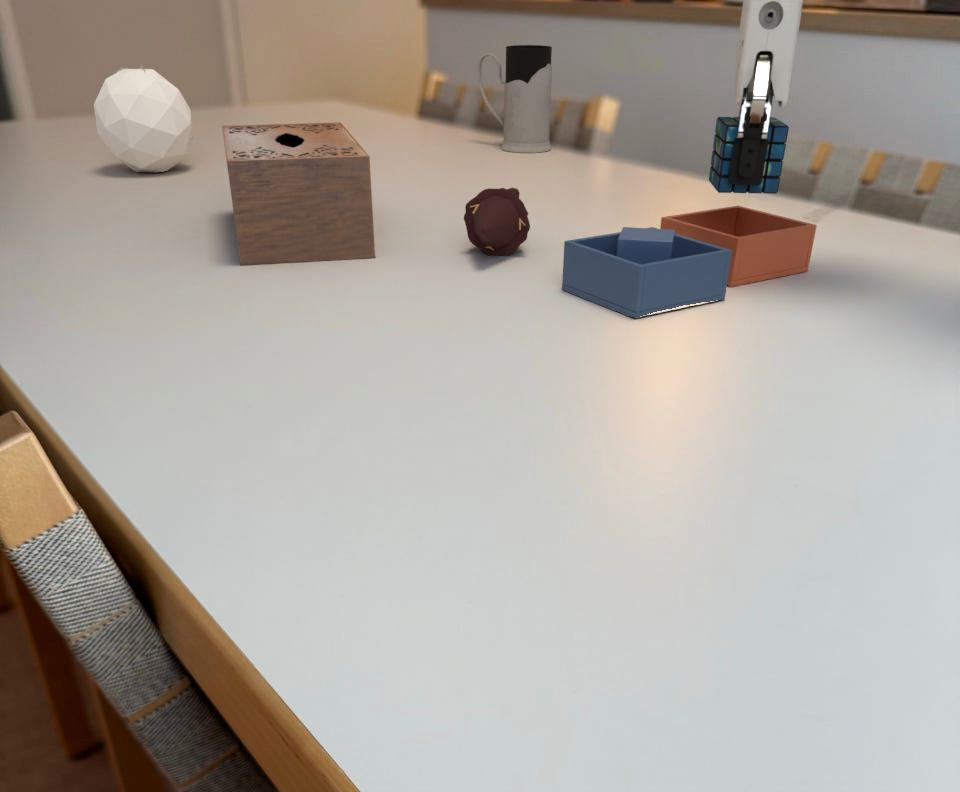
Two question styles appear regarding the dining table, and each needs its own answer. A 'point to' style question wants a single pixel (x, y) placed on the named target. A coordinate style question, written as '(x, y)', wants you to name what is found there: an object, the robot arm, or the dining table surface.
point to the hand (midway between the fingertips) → (744, 175)
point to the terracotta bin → (750, 240)
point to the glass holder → (524, 98)
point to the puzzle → (723, 155)
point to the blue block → (645, 244)
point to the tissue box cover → (299, 193)
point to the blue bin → (644, 275)
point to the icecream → (497, 221)
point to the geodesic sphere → (143, 120)
